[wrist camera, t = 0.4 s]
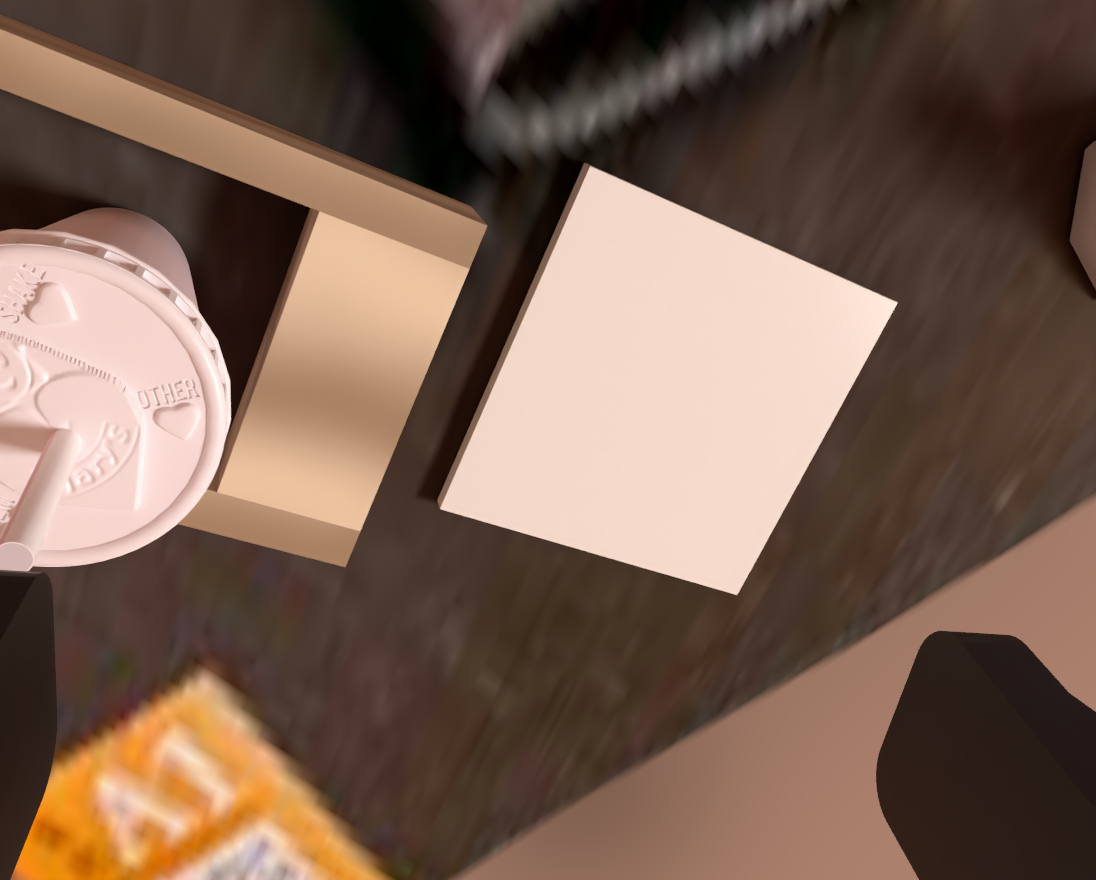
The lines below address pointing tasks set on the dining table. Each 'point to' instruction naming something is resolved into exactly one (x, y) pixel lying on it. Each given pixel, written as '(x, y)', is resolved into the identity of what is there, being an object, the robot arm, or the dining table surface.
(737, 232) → the ceramic pad
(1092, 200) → the flask
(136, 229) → the smoothie
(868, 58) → the dining table surface
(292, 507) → the collar
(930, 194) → the dining table surface
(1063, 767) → the robot arm
